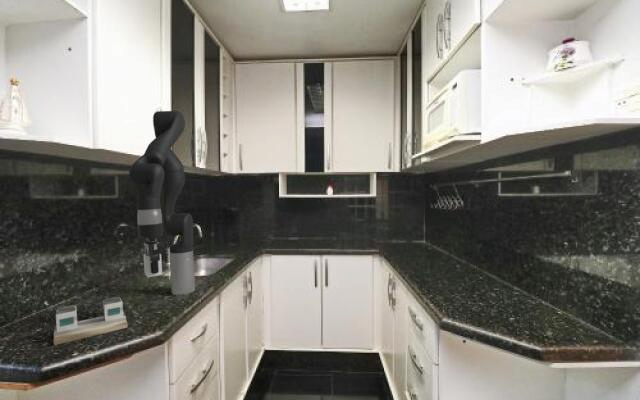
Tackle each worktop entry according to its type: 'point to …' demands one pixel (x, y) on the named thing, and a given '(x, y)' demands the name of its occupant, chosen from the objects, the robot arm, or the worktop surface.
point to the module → (148, 266)
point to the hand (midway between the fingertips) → (153, 271)
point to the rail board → (88, 322)
